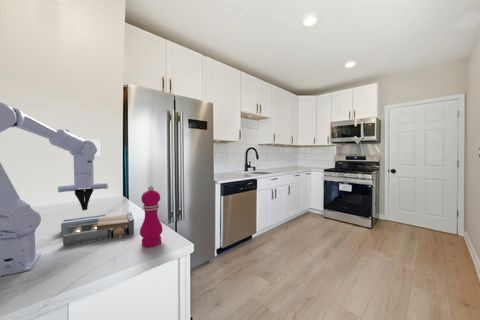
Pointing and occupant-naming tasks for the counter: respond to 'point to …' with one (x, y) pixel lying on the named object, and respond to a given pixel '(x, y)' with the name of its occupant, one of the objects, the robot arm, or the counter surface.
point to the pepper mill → (151, 219)
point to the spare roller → (118, 231)
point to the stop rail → (130, 223)
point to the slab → (112, 222)
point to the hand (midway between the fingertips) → (84, 209)
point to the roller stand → (78, 222)
